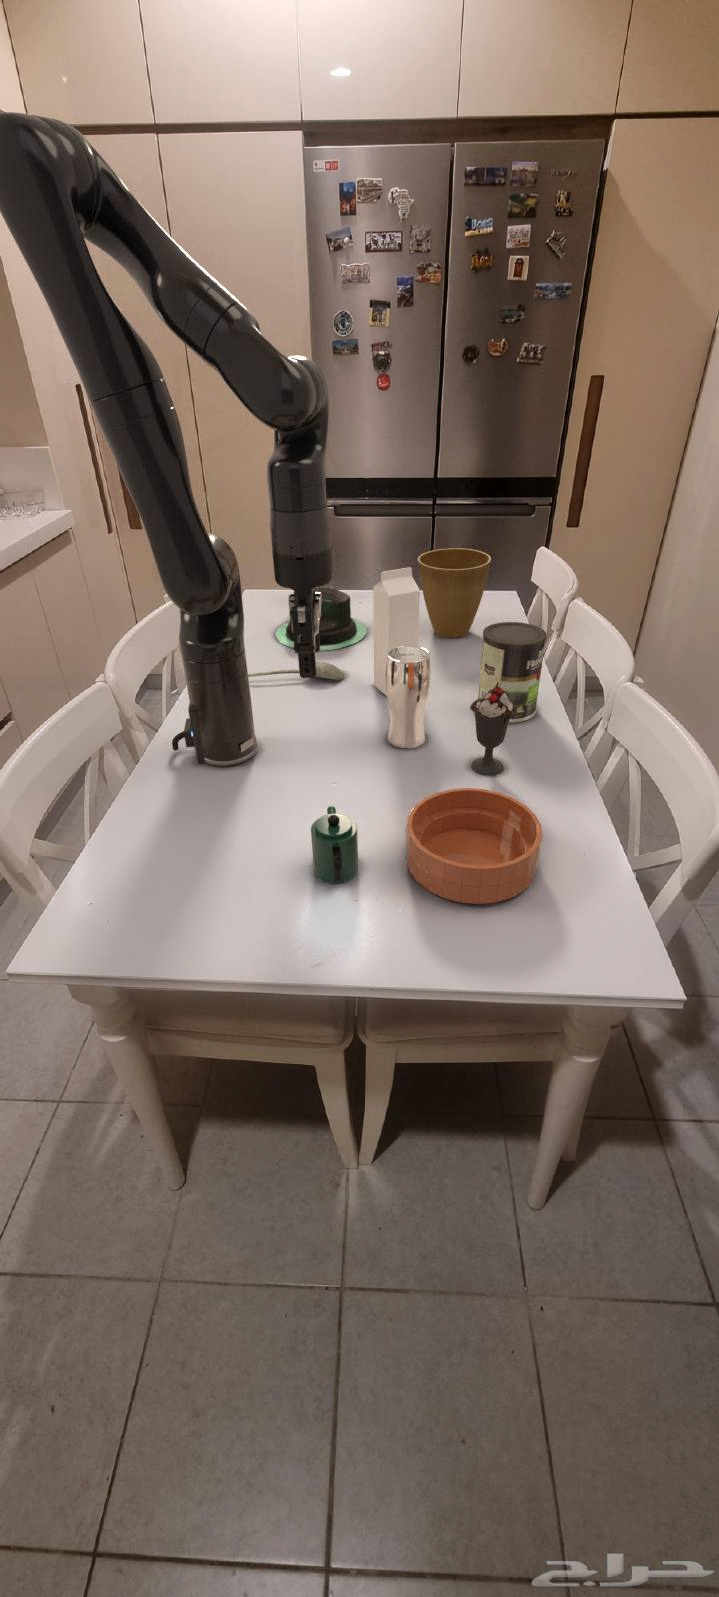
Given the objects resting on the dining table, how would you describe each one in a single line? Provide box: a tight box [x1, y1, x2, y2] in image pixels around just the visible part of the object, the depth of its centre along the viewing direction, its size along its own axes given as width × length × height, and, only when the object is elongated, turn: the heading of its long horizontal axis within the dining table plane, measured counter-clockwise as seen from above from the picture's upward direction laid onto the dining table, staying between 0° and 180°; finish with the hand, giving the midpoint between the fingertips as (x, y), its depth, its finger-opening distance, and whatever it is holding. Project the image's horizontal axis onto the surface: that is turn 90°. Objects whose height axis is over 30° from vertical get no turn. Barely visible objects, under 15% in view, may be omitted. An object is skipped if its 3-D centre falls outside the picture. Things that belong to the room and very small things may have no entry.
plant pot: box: [417, 547, 492, 639], centre depth 148 cm, size 15×15×16 cm
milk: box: [372, 566, 421, 697], centre depth 123 cm, size 6×6×22 cm
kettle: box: [310, 805, 359, 885], centre depth 86 cm, size 10×6×8 cm, turn 6°
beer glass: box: [385, 645, 431, 749], centre depth 110 cm, size 7×7×15 cm
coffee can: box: [477, 621, 548, 724], centre depth 118 cm, size 10×10×14 cm
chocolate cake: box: [275, 585, 368, 651], centre depth 152 cm, size 15×19×20 cm
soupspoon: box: [248, 661, 345, 681], centre depth 133 cm, size 22×3×7 cm
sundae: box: [469, 682, 517, 776], centre depth 102 cm, size 7×7×15 cm
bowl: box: [405, 787, 543, 905], centre depth 86 cm, size 16×16×6 cm
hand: (310, 663), depth 97 cm, fingers open, 8 cm apart
